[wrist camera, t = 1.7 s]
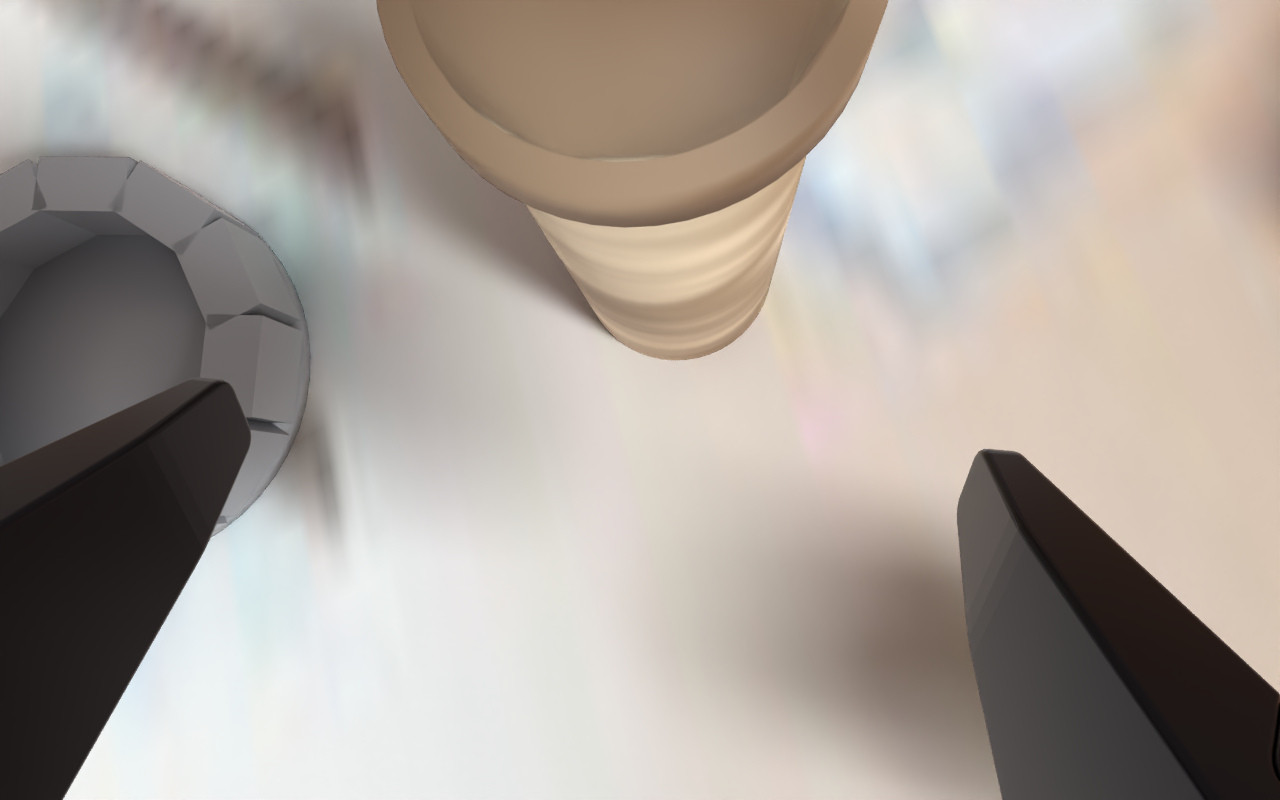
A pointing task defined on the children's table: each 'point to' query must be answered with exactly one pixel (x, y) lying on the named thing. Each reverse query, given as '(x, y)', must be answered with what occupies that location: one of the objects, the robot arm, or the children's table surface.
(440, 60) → the beech plug
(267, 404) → the ring socket
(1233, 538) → the children's table surface
